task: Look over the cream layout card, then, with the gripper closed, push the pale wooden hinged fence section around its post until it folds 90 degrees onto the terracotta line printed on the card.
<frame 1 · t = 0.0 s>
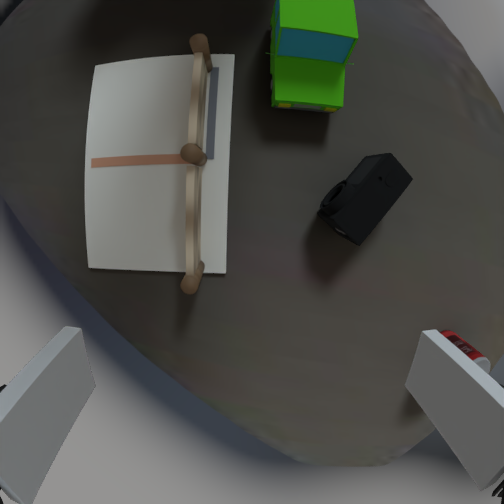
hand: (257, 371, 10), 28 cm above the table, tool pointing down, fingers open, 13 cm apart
layout card: (152, 159, 35), on the table
fence gate: (193, 226, 32), point 5 cm above the table, hinge at 0.0°
canned food: (439, 347, 44), on the table
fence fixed: (202, 112, 34), resting on layout card
digital camera: (349, 191, 37), on the table
toy car: (300, 68, 33), on the table
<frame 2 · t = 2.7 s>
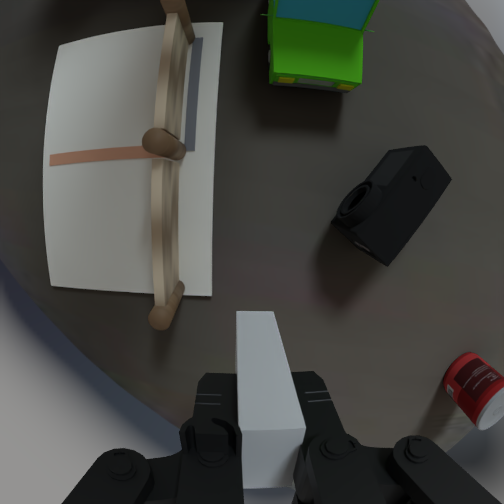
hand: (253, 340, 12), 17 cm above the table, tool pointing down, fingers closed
layout card: (120, 153, 26), on the table
fence gate: (166, 239, 24), point 5 cm above the table, hinge at 0.0°
canned food: (459, 370, 36), on the table
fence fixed: (181, 92, 25), resting on layout card
digital camera: (370, 193, 29), on the table
toy car: (305, 39, 25), on the table
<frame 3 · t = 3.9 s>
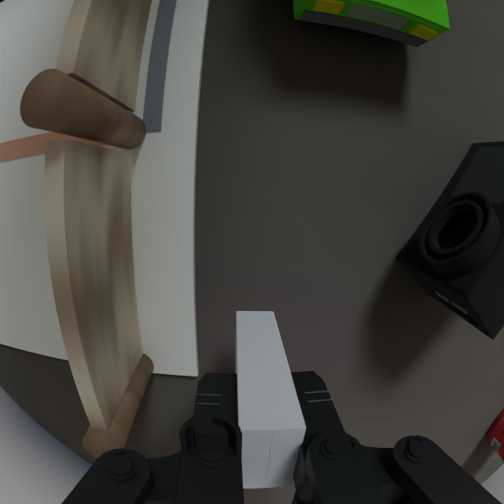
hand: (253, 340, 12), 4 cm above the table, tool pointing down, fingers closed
layout card: (46, 144, 14), on the table
fence gate: (102, 303, 11), point 5 cm above the table, hinge at 0.0°
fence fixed: (145, 38, 13), resting on layout card
digital camera: (450, 210, 16), on the table
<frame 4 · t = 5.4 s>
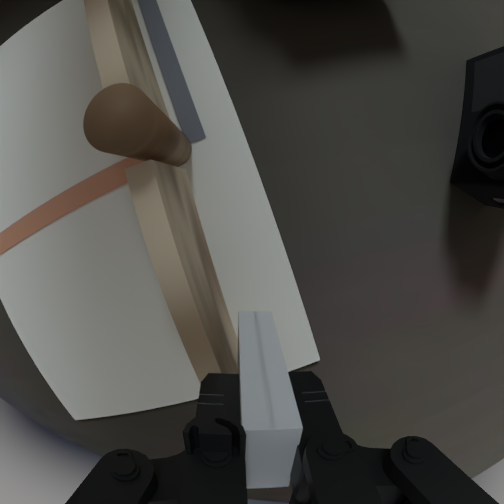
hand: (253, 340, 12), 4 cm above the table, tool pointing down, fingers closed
layout card: (80, 195, 15), on the table
fence gate: (211, 326, 12), point 5 cm above the table, hinge at -4.8°, touching gripper
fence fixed: (144, 57, 13), resting on layout card
digital camera: (472, 124, 15), on the table
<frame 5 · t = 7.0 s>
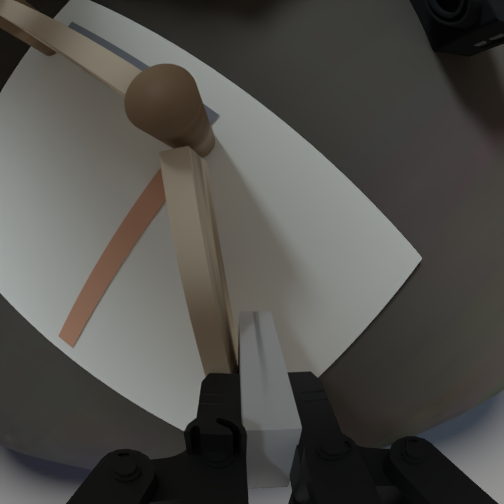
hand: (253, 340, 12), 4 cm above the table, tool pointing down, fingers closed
layout card: (130, 234, 15), on the table
fence gate: (218, 322, 12), point 5 cm above the table, hinge at -42.7°, touching gripper
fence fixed: (117, 84, 13), resting on layout card
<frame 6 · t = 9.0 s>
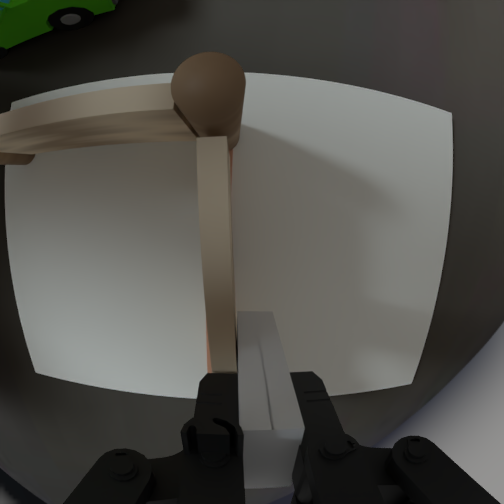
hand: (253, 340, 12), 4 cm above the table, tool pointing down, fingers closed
layout card: (218, 251, 16), on the table
fence gate: (225, 316, 12), point 5 cm above the table, hinge at -86.1°, touching gripper
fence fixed: (113, 140, 14), resting on layout card
toy car: (55, 1, 11), on the table
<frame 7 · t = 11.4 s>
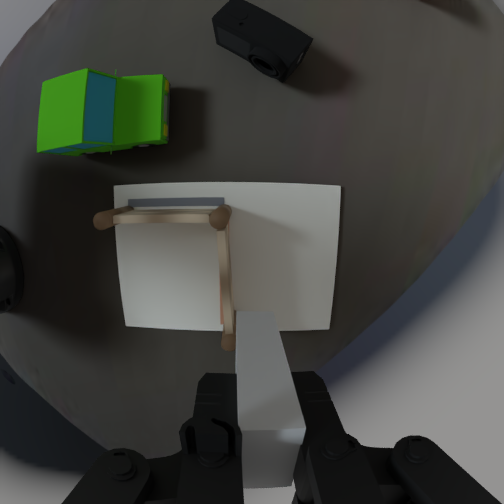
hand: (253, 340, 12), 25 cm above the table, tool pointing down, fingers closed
layout card: (224, 259, 37), on the table
fence gate: (226, 284, 33), point 5 cm above the table, hinge at -86.1°
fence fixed: (175, 211, 36), resting on layout card
digital camera: (255, 54, 32), on the table
toy car: (124, 120, 33), on the table
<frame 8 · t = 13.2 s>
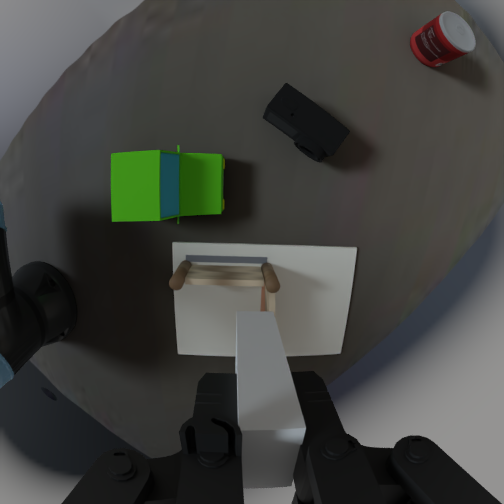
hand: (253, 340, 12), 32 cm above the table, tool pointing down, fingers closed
layout card: (264, 303, 47), on the table
fence gate: (270, 326, 43), point 5 cm above the table, hinge at -86.1°
canned food: (425, 50, 38), on the table
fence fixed: (226, 266, 45), resting on layout card
digital camera: (296, 130, 41), on the table
toy car: (180, 184, 42), on the table
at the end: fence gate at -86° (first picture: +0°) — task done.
